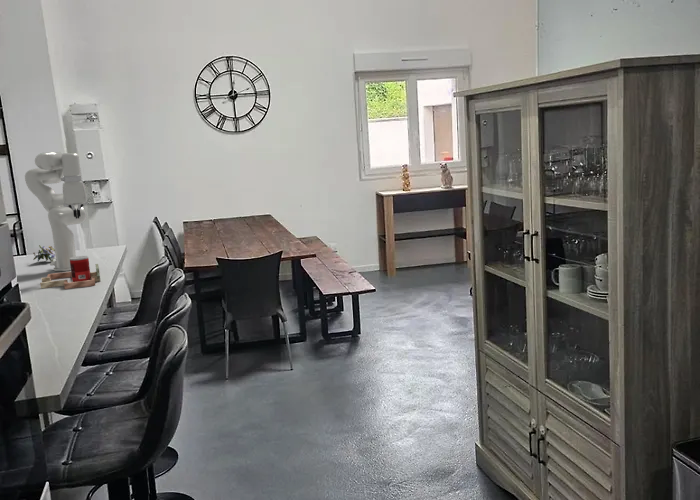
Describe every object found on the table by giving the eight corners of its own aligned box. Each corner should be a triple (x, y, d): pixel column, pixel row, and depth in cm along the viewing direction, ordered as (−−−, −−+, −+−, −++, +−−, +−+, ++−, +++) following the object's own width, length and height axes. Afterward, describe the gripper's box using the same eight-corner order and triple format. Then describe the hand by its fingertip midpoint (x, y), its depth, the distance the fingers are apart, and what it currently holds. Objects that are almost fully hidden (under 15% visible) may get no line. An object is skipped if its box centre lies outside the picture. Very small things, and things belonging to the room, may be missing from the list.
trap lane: (39, 292, 276) (38, 278, 275) (43, 279, 303) (41, 267, 302) (101, 284, 285) (99, 271, 284) (99, 273, 312) (97, 261, 311)
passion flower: (54, 271, 352) (56, 255, 345) (31, 270, 347) (33, 254, 340) (54, 257, 360) (56, 241, 353) (32, 256, 355) (34, 240, 348)
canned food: (94, 279, 298) (91, 255, 296) (82, 283, 291) (79, 259, 289) (81, 278, 301) (78, 255, 299) (68, 282, 293) (65, 258, 291)
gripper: (55, 181, 299) (60, 220, 302) (89, 179, 304) (94, 217, 307) (55, 180, 305) (60, 219, 309) (89, 178, 311) (94, 216, 314)
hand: (77, 218), depth 308 cm, fingers closed
